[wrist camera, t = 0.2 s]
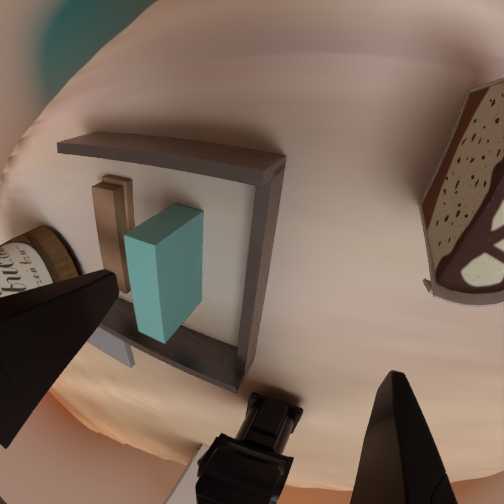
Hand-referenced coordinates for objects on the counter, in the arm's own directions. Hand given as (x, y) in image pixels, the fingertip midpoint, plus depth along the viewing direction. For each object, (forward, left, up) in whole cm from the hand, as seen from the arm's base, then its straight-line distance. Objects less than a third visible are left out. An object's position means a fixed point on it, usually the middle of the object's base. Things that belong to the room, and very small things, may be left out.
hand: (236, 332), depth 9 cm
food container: (+5, -11, -16) cm, 20 cm away
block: (-9, +11, -16) cm, 21 cm away
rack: (-9, +13, -16) cm, 23 cm away
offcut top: (-9, +20, -15) cm, 26 cm away
